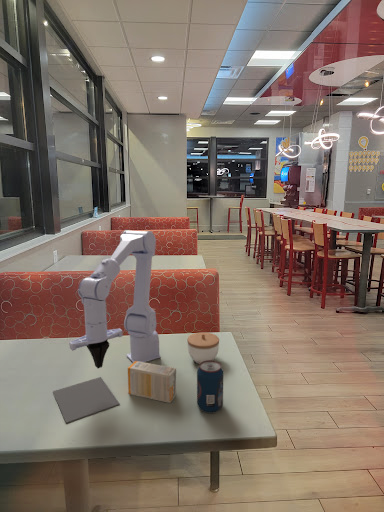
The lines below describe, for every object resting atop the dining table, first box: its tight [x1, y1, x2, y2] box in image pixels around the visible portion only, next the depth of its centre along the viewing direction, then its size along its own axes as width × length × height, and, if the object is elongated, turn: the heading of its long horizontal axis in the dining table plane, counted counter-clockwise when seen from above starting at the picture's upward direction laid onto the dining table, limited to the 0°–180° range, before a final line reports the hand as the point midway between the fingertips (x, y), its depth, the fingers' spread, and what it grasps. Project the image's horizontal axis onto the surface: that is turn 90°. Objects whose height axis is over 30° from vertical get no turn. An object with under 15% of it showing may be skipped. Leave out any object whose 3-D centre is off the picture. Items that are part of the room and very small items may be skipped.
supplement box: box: [127, 361, 177, 404], centre depth 97 cm, size 8×5×13 cm
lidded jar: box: [186, 331, 220, 365], centre depth 116 cm, size 11×11×9 cm
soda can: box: [196, 359, 224, 414], centre depth 91 cm, size 7×7×12 cm
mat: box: [52, 376, 121, 424], centre depth 95 cm, size 14×16×1 cm
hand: (98, 366), depth 96 cm, fingers closed
